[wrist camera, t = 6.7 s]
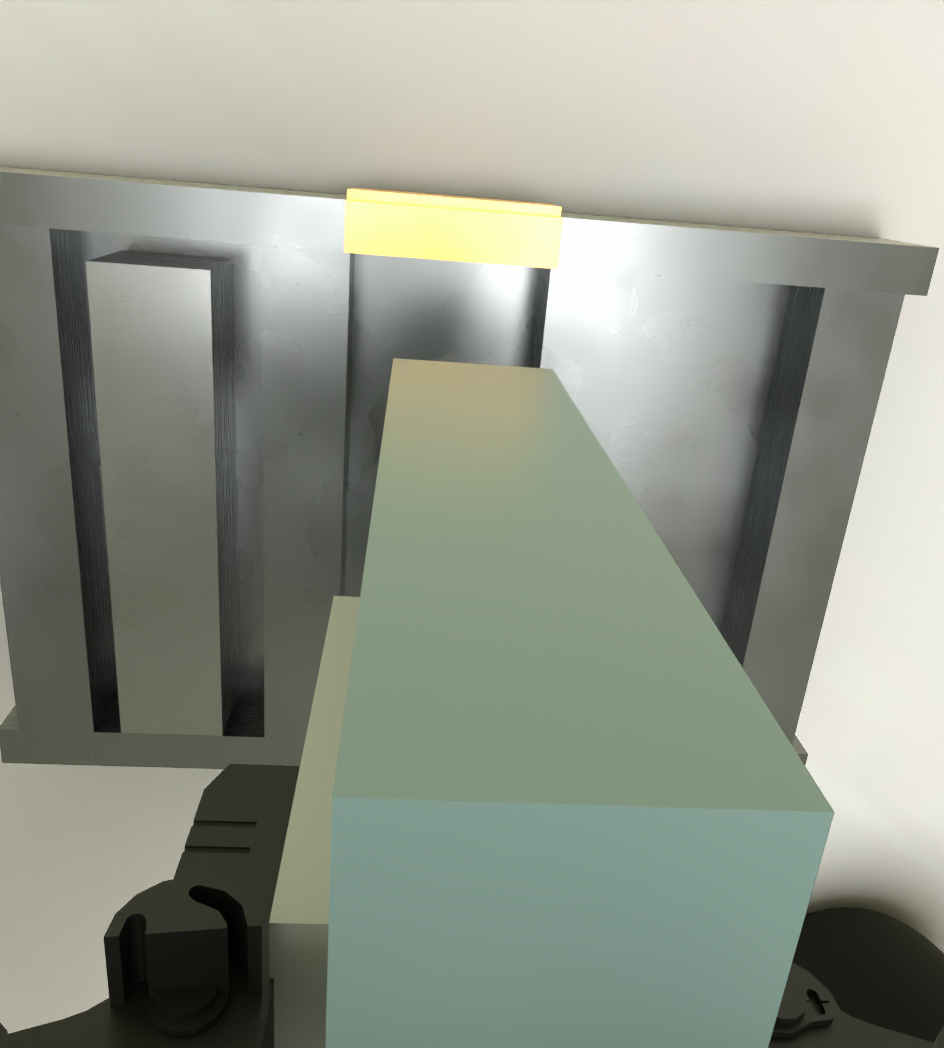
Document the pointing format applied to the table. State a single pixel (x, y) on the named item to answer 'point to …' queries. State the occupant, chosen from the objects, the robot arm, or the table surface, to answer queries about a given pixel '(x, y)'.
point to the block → (548, 756)
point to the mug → (876, 969)
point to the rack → (358, 421)
